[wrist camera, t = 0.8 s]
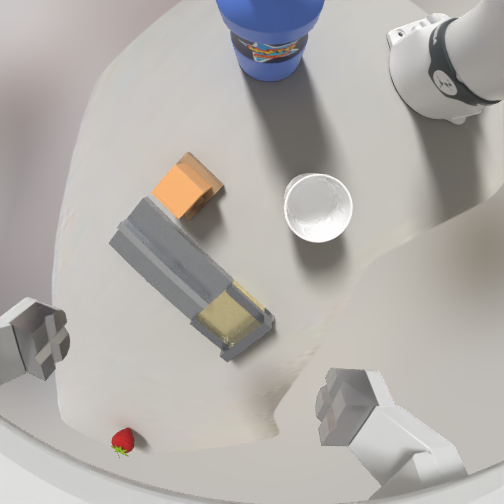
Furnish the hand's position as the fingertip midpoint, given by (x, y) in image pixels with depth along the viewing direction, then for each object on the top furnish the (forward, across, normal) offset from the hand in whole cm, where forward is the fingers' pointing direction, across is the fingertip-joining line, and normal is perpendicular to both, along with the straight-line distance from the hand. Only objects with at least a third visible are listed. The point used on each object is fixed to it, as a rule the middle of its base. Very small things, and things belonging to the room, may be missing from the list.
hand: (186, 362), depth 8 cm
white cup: (+36, -8, -2) cm, 37 cm away
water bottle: (+36, +1, -21) cm, 42 cm away
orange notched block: (+35, +8, 0) cm, 36 cm away
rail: (+36, +6, +15) cm, 40 cm away
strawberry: (+37, +21, +63) cm, 76 cm away
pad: (+36, +8, 0) cm, 37 cm away
